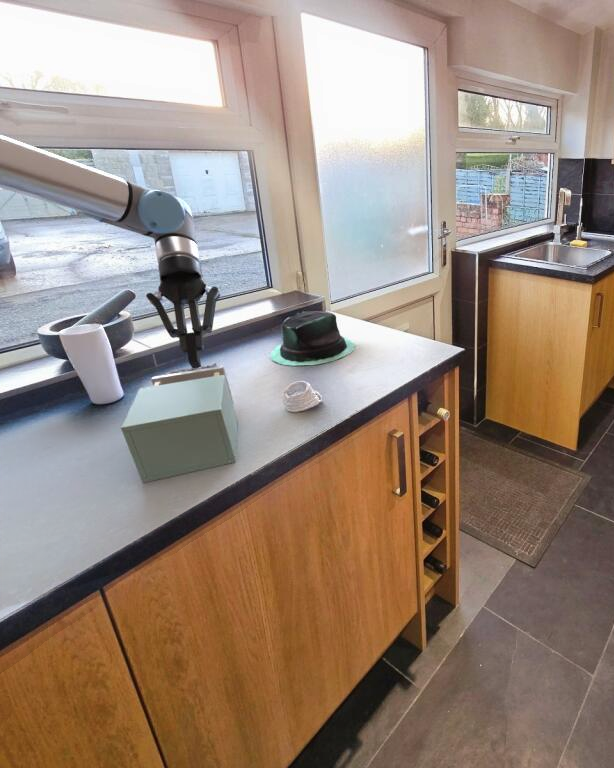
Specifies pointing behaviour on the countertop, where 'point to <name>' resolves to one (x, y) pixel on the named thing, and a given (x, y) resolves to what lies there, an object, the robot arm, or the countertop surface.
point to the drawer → (191, 376)
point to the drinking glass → (93, 361)
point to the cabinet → (181, 428)
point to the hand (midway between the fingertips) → (195, 364)
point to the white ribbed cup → (300, 397)
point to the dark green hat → (311, 340)
